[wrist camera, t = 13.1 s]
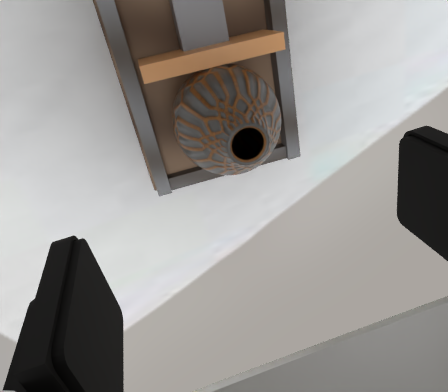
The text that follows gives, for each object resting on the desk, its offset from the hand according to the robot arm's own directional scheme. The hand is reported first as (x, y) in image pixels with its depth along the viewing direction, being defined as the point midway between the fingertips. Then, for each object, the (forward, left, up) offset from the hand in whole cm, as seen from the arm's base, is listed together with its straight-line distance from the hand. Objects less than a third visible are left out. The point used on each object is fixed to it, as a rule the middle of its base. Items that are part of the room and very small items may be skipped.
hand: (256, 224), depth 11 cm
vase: (+1, +2, -18) cm, 18 cm away
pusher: (-4, +2, -18) cm, 18 cm away
